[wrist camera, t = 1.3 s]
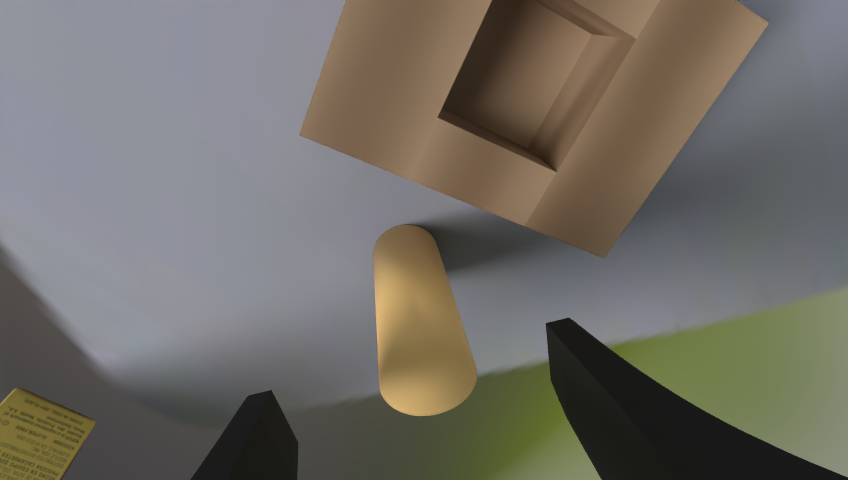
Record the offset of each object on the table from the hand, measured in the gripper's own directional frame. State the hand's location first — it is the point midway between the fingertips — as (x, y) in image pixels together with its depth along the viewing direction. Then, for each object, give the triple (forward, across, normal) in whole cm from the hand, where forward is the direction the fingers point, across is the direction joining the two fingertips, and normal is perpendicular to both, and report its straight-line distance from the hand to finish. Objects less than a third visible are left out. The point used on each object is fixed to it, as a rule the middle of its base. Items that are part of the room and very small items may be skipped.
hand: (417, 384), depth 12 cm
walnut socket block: (+10, -6, -6) cm, 12 cm away
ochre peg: (+10, 0, +2) cm, 10 cm away
